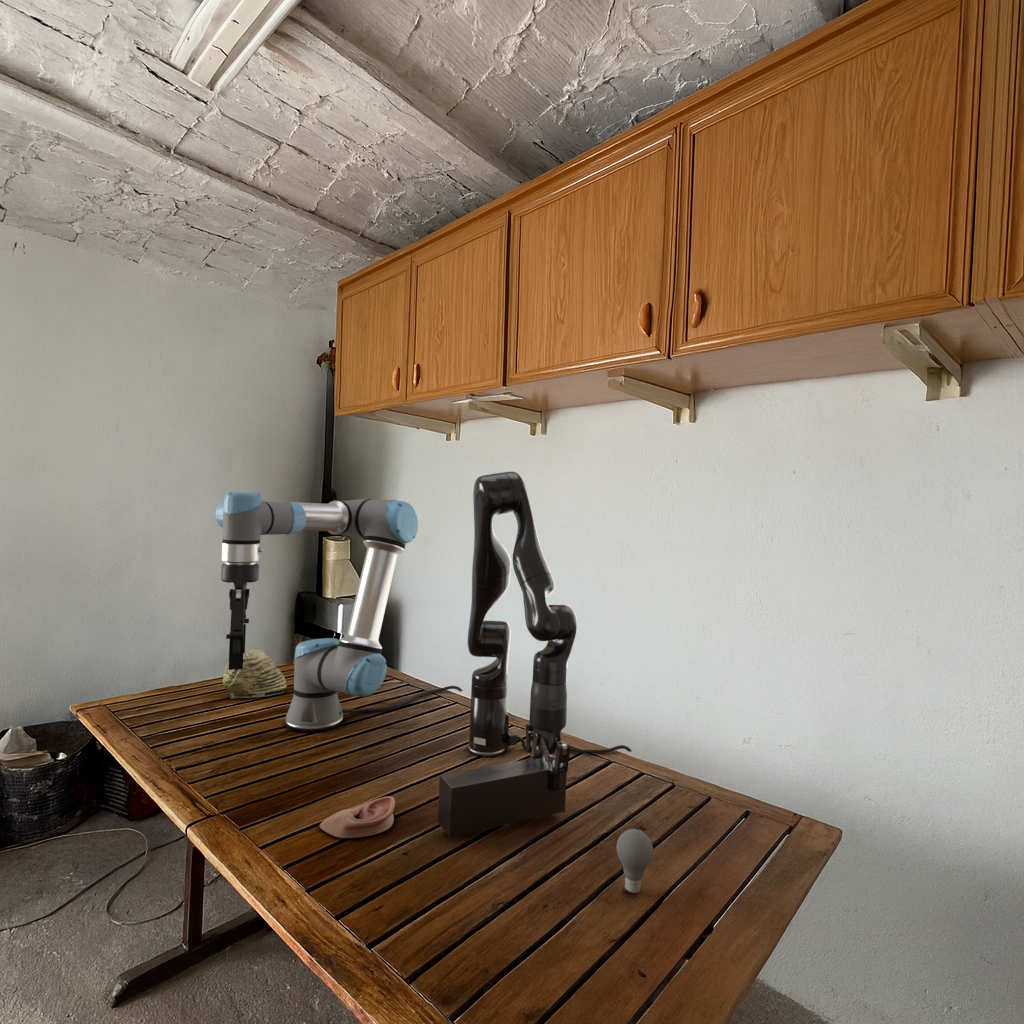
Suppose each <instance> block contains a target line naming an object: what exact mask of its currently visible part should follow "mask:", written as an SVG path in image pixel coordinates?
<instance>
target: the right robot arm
mask: <svg viewBox="0 0 1024 1024" xmlns="http://www.w3.org/2000/svg"><path fill="white" fill-rule="evenodd" d="M472 497H473V498H472V499H473V503H472V504H473V525H474V526H473V527H474V528H473V530H474V537H473V539H474V540H473V555H472V568H471V605H470V606H471V607H470V614H469V622H468V631H467V650H468V652H469V654H470V656H472V657H475V658H476V657H477V658H495V660H493V661H492V662H491V663H489V664H487V665H485V666H482V667H479V668H477V669H475V670H473V671H472V674H471V691H470V692H471V693H470V713H469V733H468V736H469V737H468V746H467V747H468V751H469V752H470V753H471V754H473V755H476V756H480V757H497V756H500V755H502V754H503V753H505V752H508V751H509V746H515V745H518V741H519V742H521V747H522V749H523V750H525V751H526V753H527V754H530V755H529V757H530V759H532V758H538V757H545V761H546V762H547V763H548V768H549V772H550V773H549V782H548V790H549V791H550V792H554V791H558V790H559V787H560V774H561V773H566V772H567V773H568V769H569V761H570V752H572V753H579V754H608V753H611V752H614V751H617V750H626V751H627V752H629V753H631V752H633V750H632V749H631V747H629V746H627V745H623V744H619V745H616V746H612V747H610V748H605V749H604V748H603V749H602V748H601V749H581V748H574V747H571V744H570V743H564V742H563V739H562V731H563V730H564V729H565V728H566V726H567V713H568V695H569V694H568V668H569V667H568V662H569V659H570V656H571V653H572V650H573V646H574V643H575V639H576V636H577V632H578V618H577V615H576V612H575V610H574V608H572V607H571V606H570V605H569V604H566V603H556V604H555V603H554V604H548V602H547V597H548V596H550V595H551V594H553V592H554V591H555V589H556V583H555V580H554V577H553V575H552V573H551V570H550V567H549V565H548V563H547V560H546V557H545V555H544V552H543V549H542V546H541V543H540V540H539V536H538V531H537V525H536V523H535V518H534V514H533V509H532V506H531V505H532V504H531V502H530V498H529V494H528V491H527V487H526V485H525V482H524V480H523V478H522V476H521V475H520V474H519V473H518V472H515V471H503V472H495V473H490V474H483V475H480V476H478V477H476V480H475V481H474V486H473V496H472ZM511 513H513V515H514V517H515V519H516V523H517V532H516V538H515V543H514V546H513V552H512V559H511V556H510V554H509V552H508V550H507V549H506V547H505V545H503V543H502V542H501V540H500V539H499V538H498V536H497V534H496V532H495V530H494V517H495V516H499V515H505V514H511ZM512 568H513V571H514V574H515V577H516V579H517V581H518V584H519V587H520V590H521V592H522V599H523V609H524V617H525V618H524V619H525V625H526V628H527V631H528V632H529V635H531V636H532V638H534V639H535V640H536V641H538V642H547V643H546V645H545V646H544V647H543V648H542V649H540V650H538V651H537V652H535V654H534V656H533V661H532V681H531V687H530V696H529V697H530V700H529V720H528V721H529V722H528V723H527V724H525V739H524V738H522V736H521V737H520V736H518V734H517V733H515V732H514V731H513V730H511V729H510V714H509V713H508V712H507V707H508V705H507V703H508V679H509V677H508V676H509V661H510V660H509V658H510V650H511V649H510V647H511V638H512V637H511V635H512V632H511V626H510V624H509V622H508V621H505V620H485V618H486V616H487V615H488V613H489V611H490V610H491V609H492V608H493V607H494V605H495V604H496V603H497V602H499V600H500V599H501V598H502V597H503V596H504V595H505V593H506V592H507V590H508V588H509V587H510V583H511V573H512ZM554 754H555V755H554ZM550 755H552V756H553V757H551V756H550ZM553 760H555V765H554V767H553ZM561 763H563V766H562V764H561Z"/></svg>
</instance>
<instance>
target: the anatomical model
mask: <svg viewBox="0 0 1024 1024" xmlns="http://www.w3.org/2000/svg"><path fill="white" fill-rule="evenodd" d="M395 806H396V799H395V797H393V796H392V795H391V796H390V795H389V796H388V795H387V796H383V797H379V798H376V799H372V800H369V801H367V802H365V803H362V804H360V805H358V806H355V807H352V808H346V809H345V808H344V809H342V810H340V811H337V812H335V813H333V814H331V815H329V816H328V817H327V818H325V819H324V820H322V821H321V823H320V824H319V828H320V829H321V830H322V831H324V832H325V833H326V834H329V835H331V836H333V837H335V838H339V839H354V838H355V839H356V838H363V837H369V836H373V835H377V834H381V833H383V832H385V831H387V830H389V829H390V828H391V827H392V826H393V824H394V820H395V817H394V814H393V813H394V810H395Z"/></svg>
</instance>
